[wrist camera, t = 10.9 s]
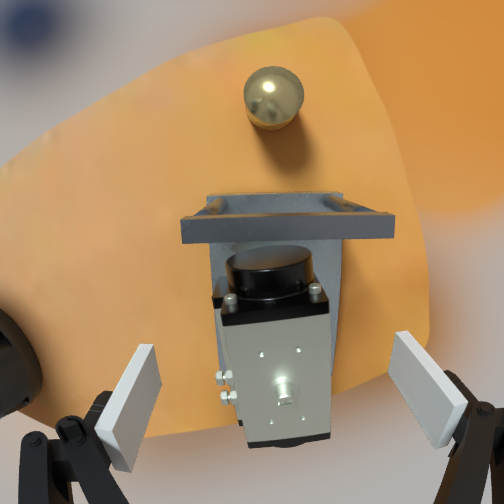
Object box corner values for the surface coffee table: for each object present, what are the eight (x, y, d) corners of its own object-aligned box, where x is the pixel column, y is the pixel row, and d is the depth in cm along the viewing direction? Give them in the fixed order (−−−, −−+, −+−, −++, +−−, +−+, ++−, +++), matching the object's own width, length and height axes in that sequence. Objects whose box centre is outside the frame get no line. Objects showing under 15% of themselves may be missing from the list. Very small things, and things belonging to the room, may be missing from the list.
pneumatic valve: (295, 223, 23) (334, 277, 12) (306, 358, 26) (333, 466, 15) (220, 233, 24) (188, 295, 12) (243, 366, 26) (236, 477, 15)
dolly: (223, 362, 30) (207, 471, 17) (212, 193, 26) (168, 217, 13) (325, 358, 30) (360, 462, 17) (333, 190, 26) (405, 213, 13)
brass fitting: (246, 131, 25) (244, 122, 20) (245, 85, 24) (242, 66, 19) (296, 130, 24) (305, 121, 20) (294, 84, 23) (302, 66, 19)
